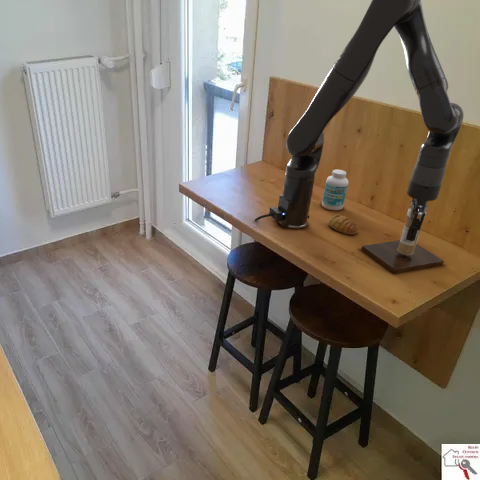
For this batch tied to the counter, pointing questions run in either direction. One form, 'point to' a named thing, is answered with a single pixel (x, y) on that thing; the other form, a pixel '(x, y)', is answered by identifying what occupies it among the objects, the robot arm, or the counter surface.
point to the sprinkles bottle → (406, 245)
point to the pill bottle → (335, 190)
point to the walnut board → (401, 257)
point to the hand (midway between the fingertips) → (409, 236)
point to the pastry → (343, 224)
